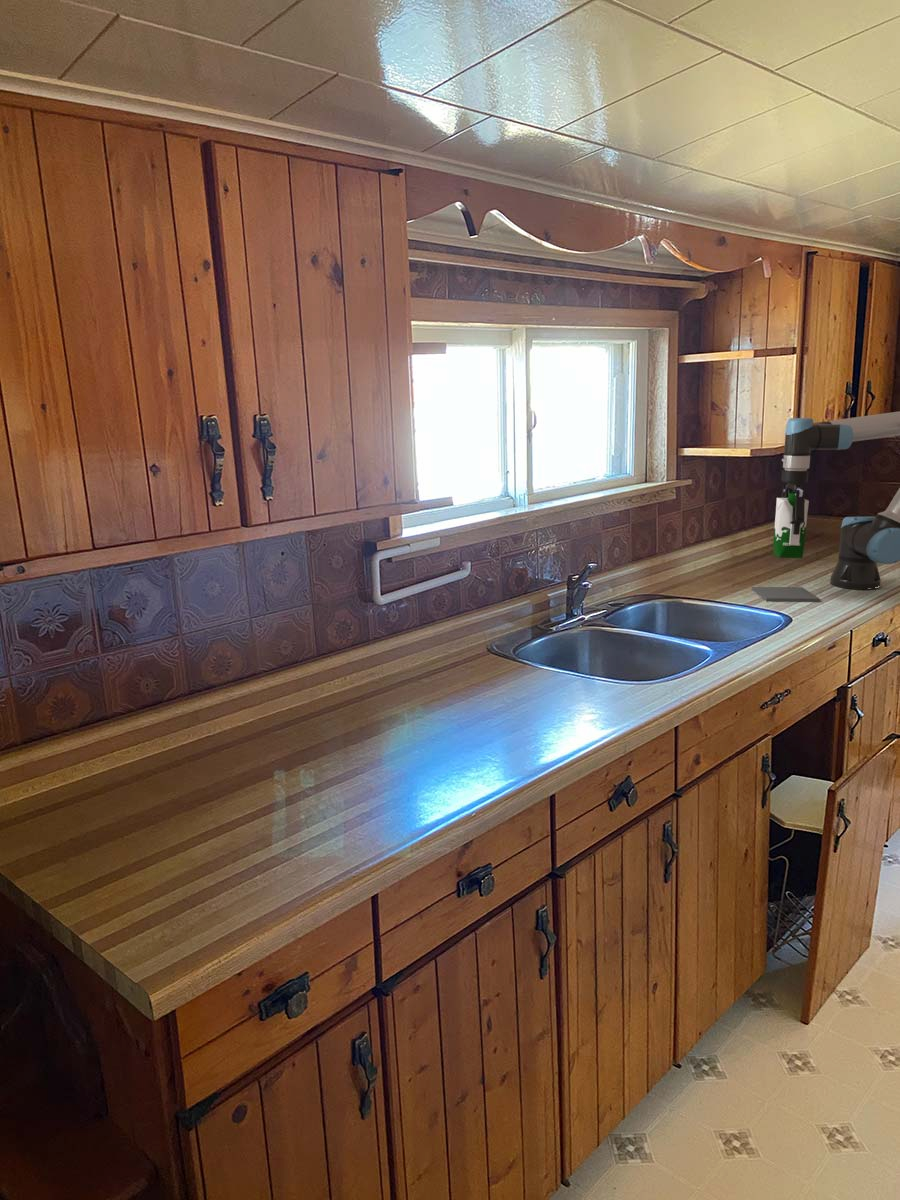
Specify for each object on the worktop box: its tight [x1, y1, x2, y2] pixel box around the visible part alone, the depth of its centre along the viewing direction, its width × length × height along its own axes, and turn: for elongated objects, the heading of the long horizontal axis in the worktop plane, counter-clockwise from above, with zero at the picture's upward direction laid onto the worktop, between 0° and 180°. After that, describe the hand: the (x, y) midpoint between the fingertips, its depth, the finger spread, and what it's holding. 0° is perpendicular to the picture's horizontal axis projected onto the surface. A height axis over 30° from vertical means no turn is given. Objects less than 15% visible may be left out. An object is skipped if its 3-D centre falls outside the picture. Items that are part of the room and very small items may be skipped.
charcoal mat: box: [751, 586, 821, 603], centre depth 266 cm, size 16×16×1 cm
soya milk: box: [772, 493, 810, 559], centre depth 260 cm, size 9×9×20 cm
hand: (788, 541), depth 262 cm, fingers closed on soya milk, 9 cm apart
